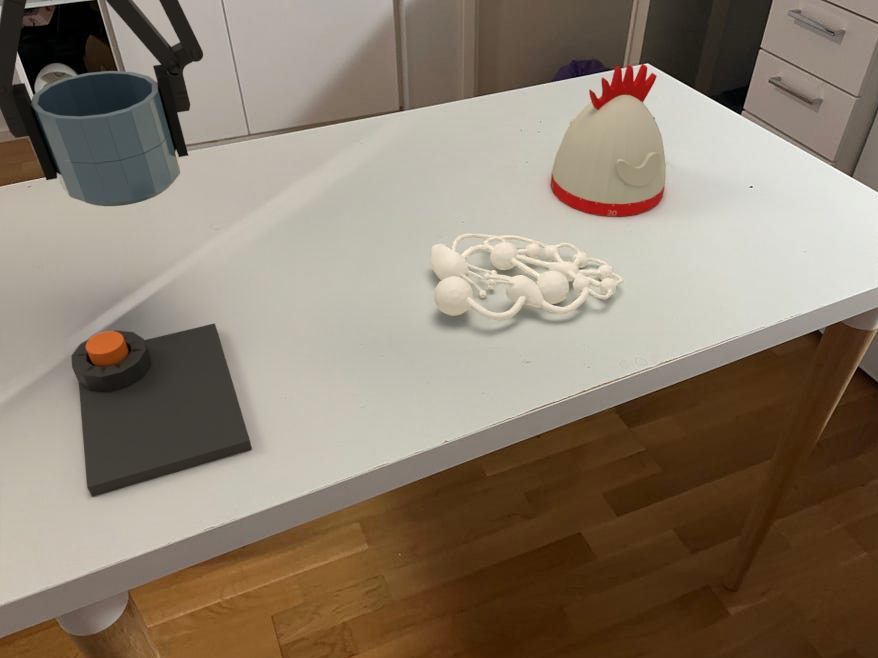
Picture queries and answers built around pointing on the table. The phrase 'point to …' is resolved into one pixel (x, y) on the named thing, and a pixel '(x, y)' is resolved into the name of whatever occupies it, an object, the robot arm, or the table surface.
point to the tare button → (107, 348)
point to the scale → (157, 409)
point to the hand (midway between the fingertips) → (117, 160)
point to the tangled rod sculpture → (548, 289)
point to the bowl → (108, 137)
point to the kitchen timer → (612, 151)
